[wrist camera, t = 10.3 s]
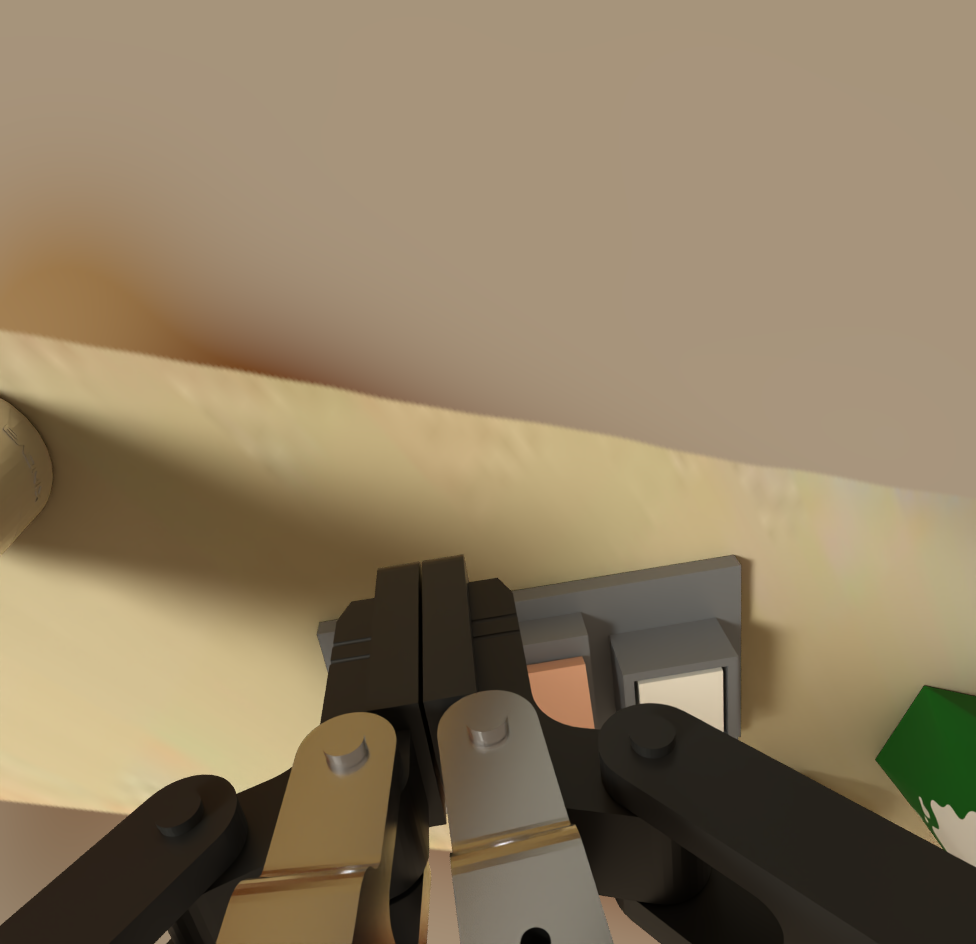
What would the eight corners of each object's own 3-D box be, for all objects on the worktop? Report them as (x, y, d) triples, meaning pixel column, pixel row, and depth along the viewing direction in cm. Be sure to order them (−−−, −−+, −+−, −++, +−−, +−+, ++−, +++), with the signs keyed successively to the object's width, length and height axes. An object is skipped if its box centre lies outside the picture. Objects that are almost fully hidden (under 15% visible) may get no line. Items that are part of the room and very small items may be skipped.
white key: (629, 707, 51) (643, 747, 48) (624, 646, 49) (639, 684, 46) (704, 695, 51) (723, 733, 48) (703, 633, 49) (722, 670, 46)
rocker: (519, 796, 49) (522, 819, 47) (497, 661, 48) (499, 678, 45) (598, 783, 49) (605, 805, 47) (579, 648, 48) (585, 664, 45)
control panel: (365, 785, 54) (361, 846, 50) (319, 622, 48) (308, 676, 44) (734, 724, 55) (762, 780, 50) (734, 554, 49) (766, 601, 44)
